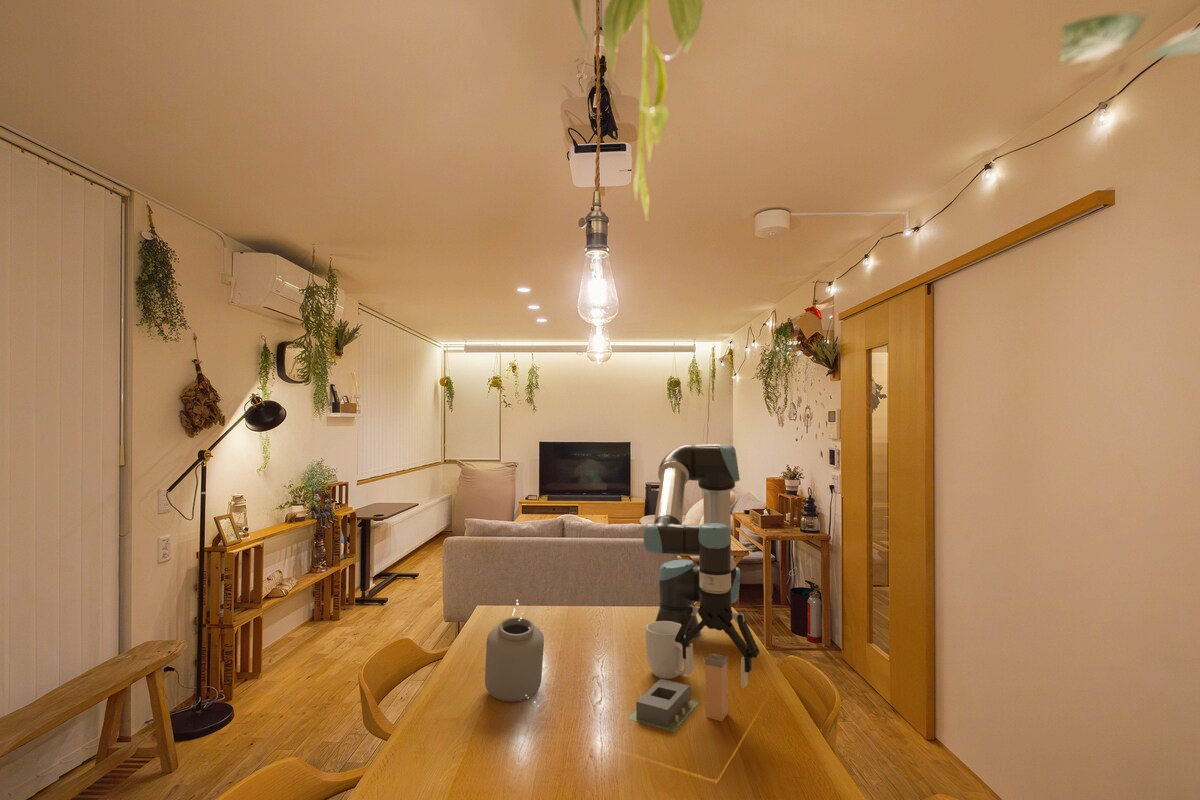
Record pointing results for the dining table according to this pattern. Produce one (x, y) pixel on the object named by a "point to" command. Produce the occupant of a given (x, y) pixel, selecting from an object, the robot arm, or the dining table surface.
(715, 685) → the plug
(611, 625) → the dining table surface
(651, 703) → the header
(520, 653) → the jar
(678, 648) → the mug
